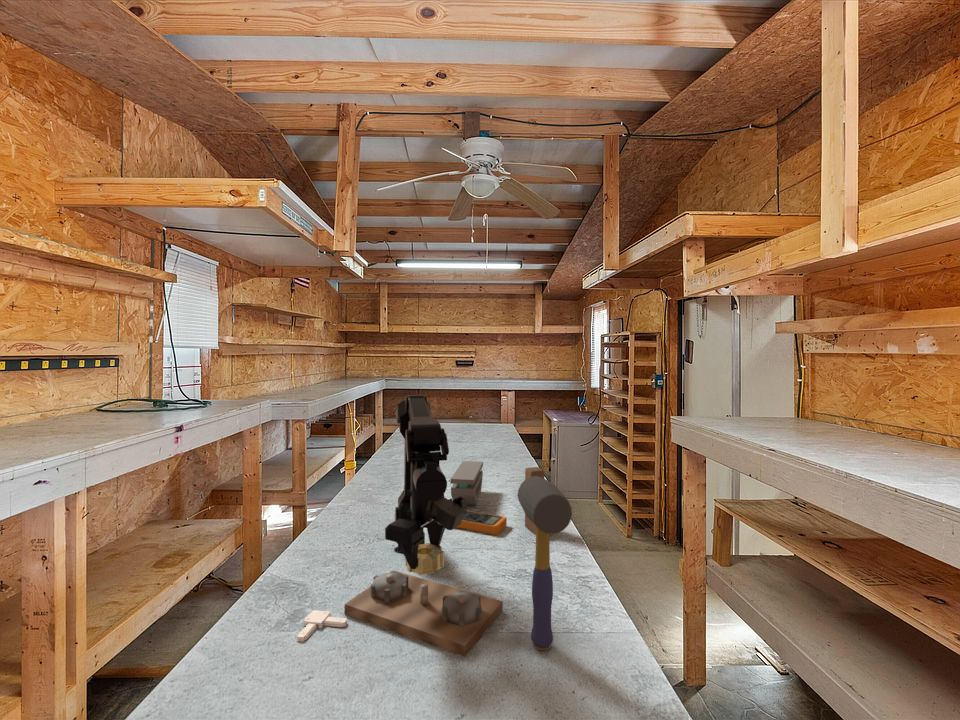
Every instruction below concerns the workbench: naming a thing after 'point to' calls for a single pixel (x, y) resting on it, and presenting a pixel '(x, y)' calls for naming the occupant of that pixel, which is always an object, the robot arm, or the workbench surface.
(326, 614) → the corner connector
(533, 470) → the wooden block
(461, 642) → the gear board
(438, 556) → the brass gear
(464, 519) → the multimeter
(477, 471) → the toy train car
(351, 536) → the workbench surface
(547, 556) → the rubber mallet
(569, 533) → the workbench surface
